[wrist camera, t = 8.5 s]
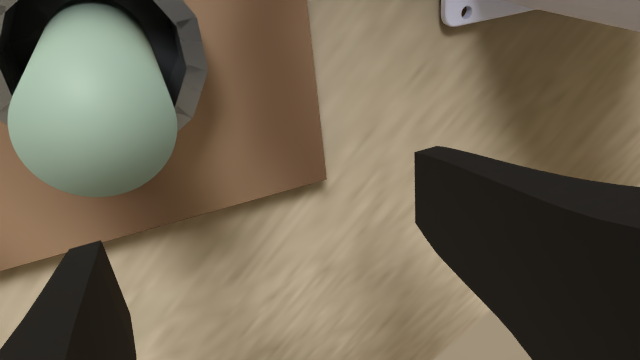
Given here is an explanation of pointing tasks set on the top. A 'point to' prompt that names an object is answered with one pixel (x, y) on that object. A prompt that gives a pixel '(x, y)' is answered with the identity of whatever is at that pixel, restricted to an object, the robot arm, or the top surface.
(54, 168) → the peg
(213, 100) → the cup bracket
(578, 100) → the top surface
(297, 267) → the top surface
